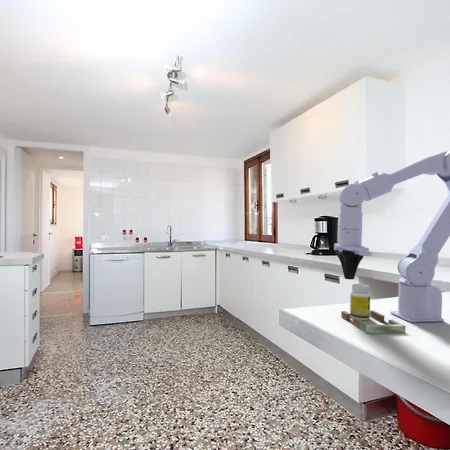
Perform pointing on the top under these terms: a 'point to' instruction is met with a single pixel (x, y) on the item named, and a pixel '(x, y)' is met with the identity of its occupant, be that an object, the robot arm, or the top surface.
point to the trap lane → (371, 329)
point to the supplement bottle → (360, 302)
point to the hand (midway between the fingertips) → (349, 278)
